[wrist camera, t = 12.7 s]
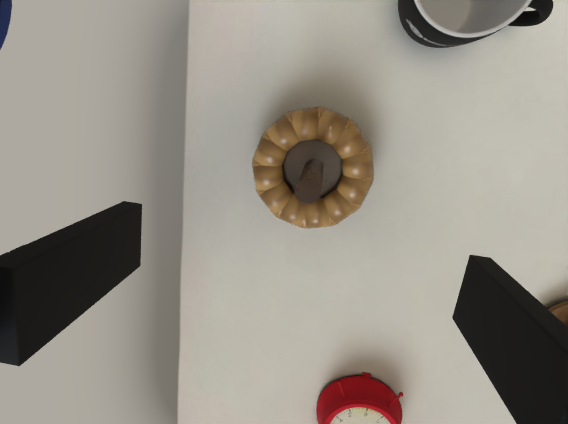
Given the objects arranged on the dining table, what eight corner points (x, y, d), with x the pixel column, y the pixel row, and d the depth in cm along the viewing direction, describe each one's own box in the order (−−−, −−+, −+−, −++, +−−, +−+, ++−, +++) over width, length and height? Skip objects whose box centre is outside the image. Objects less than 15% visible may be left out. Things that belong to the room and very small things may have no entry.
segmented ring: (233, 156, 40) (226, 159, 37) (325, 83, 37) (325, 80, 35) (301, 243, 42) (299, 253, 39) (394, 179, 39) (399, 184, 36)
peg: (262, 159, 41) (233, 180, 29) (322, 113, 39) (319, 113, 27) (306, 217, 42) (297, 261, 30) (367, 174, 40) (384, 202, 28)
